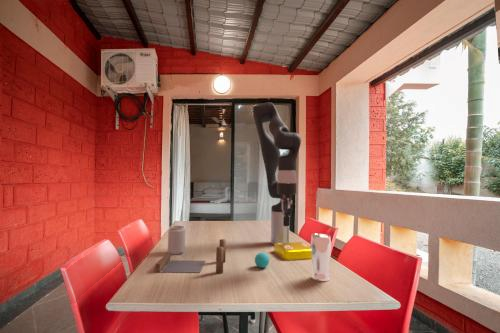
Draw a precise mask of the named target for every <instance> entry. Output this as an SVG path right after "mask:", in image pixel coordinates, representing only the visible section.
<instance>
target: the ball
mask: <svg viewBox="0 0 500 333" xmlns="http://www.w3.org/2000/svg"><path fill="white" fill-rule="evenodd" d="M254 263H255V265H256V266H257V267H259V268H267V266H268V265H269V263H270V258H269V256H268V254H267V253H265V252H259V253H257V254H256V255H255V258H254Z"/></svg>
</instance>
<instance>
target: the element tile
mask: <svg viewBox="0 0 500 333" xmlns="http://www.w3.org/2000/svg"><path fill="white" fill-rule="evenodd" d="M273 247H274V248H273V251H274V252H273V253H275V254H276V256H278V257H279V258H281V259H282V260H285V261H295V260H312V256H311V245H308V244H306V243H304V242H302V241H294V242H290V241H289V243H275V244H274V245H273Z"/></svg>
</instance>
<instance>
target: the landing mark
mask: <svg viewBox="0 0 500 333" xmlns="http://www.w3.org/2000/svg"><path fill="white" fill-rule="evenodd" d="M205 263H206V260H187V259H186V260H181V259H179V260H178V259H174V260H173V259H172V260H171V259H170V262H169V263H168V264H167V265H166V266H165V267H164V268H163V270H162V271H161V272H160V273H164V274H165V273H166V274H167V273H169V274H171V273H172V274H173V273H175V274H178V273H180V274H200V273H201V272H202V269H203V267H204V266H205Z"/></svg>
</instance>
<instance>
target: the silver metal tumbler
mask: <svg viewBox="0 0 500 333" xmlns="http://www.w3.org/2000/svg"><path fill="white" fill-rule="evenodd" d="M310 237H311V238H310V247H311V256H312V259H311V261H312V272H311V279H312V280H315V281H316V282H328V281H330V274H329V265H330V260H331V256H332V255H331V253H332V241H331V235H330V234H327V233H312V234H311V236H310Z"/></svg>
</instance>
